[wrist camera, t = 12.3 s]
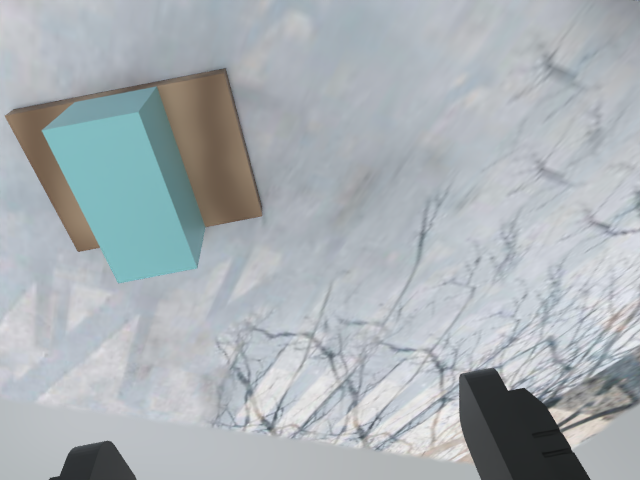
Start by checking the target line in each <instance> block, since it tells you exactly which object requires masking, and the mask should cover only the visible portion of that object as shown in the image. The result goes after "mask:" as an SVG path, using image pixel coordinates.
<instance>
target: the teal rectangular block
mask: <svg viewBox="0 0 640 480" xmlns="http://www.w3.org/2000/svg"><path fill="white" fill-rule="evenodd" d="M42 132H43V134H44V136H45V138H46V140H47V142H48V144H49V146H50V148H51V150H52V152H53V154H54V156H55V158H56V160H57V162H58V164H59V166H60V168H61V170H62V172H63V174H64V176H65V178H66V180H67V182H68V184H69V186H70V188H71V190H72V192H73V194H74V196H75V198H76V200H77V202H78V204H79V206H80V208H81V210H82V212H83V214H84V216H85V218H86V220H87V222H88V224H89V226H90V228H91V230H92V232H93V234H94V236H95V238H96V240H97V242H98V244H99V246H100V248H101V250H102V252H103V254H104V256H105V258H106V260H107V262H108V264H109V266H110V268H111V270H112V272H113V274H114V276H115V278H116V280H117V282H118V283H123V282H128V281H133V280H139V279H144V278H149V277H154V276H160V275H165V274H170V273H175V272H180V271H186V270H191V269H196V268H197V267H198V262H199V257H200V252H201V247H202V242H203V237H204V232H205V225H204V222H203V219H202V216H201V213H200V210H199V207H198V204H197V201H196V199H195V196H194V193H193V190H192V187H191V184H190V181H189V178H188V175H187V172H186V170H185V167H184V164H183V161H182V158H181V155H180V152H179V149H178V146H177V143H176V141H175V138H174V135H173V132H172V129H171V126H170V123H169V120H168V117H167V114H166V111H165V109H164V106H163V103H162V100H161V97H160V94H159V91H158V88H157V86H156V87H151V88H146V89H141V90H135V91H130V92H125V93H120V94H115V95H109V96H104V97H99V98H94V99H88V100H83V101H78V102H74V103H73V104H72V105H71V106H69V107H68V108H67V109H66V110H65V111H64V112H62V113H61V114H60V115H59V116H58V117H57V118H55V119H54V120H53V121H52V122H51V123H50V124H48V125H47V126H46V127H45V128H44V129H43V130H42Z"/></svg>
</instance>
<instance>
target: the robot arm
mask: <svg viewBox="0 0 640 480" xmlns="http://www.w3.org/2000/svg"><path fill="white" fill-rule="evenodd" d="M634 1H640V0H634ZM459 413H460V422H461V427H462V431H463V435H464V438H465V441H466V443H467V446H468V448H469V451H470V453H471V456H472V458H473V461H474V463H475V466H476V468H477V471H478V473H479V475H480V478H481V480H590V478H589V476H588V475H587V473H586V471H585V470H584V468H583V467H582V465H581V463H580V462H579V460H578V459H577V457H576V455H575V453H573V452H572V450H571V447H570V445H569V443H568V442H567V440H566V438H565V437H564V435H563V434H562V433H561V432H560V430H559V427H558V425H557V424H556V422H555V420H554V419H553V417H552V415H551V414H550V412H549V411H548V409H547V407H546V406H545V405H544V404H543V403H542V402H541V401H539V400H538V399H537V398H536V397H535V396H533V395H532V394H531V393H530V392H529V391H527V390H526V389H525V388H521V389H516V390H511V391H508V390H507V388H506V386H505V385H504V383H503V381H502V379H501V377H500V375H499V374H498V372H497V371H496V370H495V369H494V368H489V369H484V370H478V371H473V372H468V373H463V374H460V377H459ZM49 480H136V477H135V475H134V474H133V472H132V471H131V469H130V468H129V466H128V465H127V463H126V462H125V460H124V459H123V457H122V456H121V454H120V453H119V451H118V450H117V448H116V447H115V445H114V444H113V443H112V442H110V441H104V442H99V443H94V444H88V445H83V446H78V447H75V448H73V449H72V450H71V451H70V452H69V454H68V456H67V458H66V461H65V464H64V466H63V469H62V471H61V474H60V476H58V477H53V478H50V479H49Z"/></svg>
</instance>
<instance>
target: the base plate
mask: <svg viewBox="0 0 640 480" xmlns="http://www.w3.org/2000/svg"><path fill="white" fill-rule="evenodd" d="M156 86H157V88H158V91H159V94H160V97H161V100H162V103H163V106H164V109H165V111H166V114H167V117H168V120H169V123H170V126H171V129H172V132H173V135H174V138H175V141H176V143H177V146H178V149H179V152H180V155H181V158H182V161H183V164H184V167H185V170H186V172H187V175H188V178H189V181H190V184H191V187H192V190H193V193H194V196H195V199H196V201H197V204H198V207H199V210H200V213H201V216H202V219H203V222H204V225H205V227H209V226H214V225H219V224H224V223H230V222H235V221H240V220H245V219H250V218H255V217H260V216H262V205H261V201H260V197H259V194H258V190H257V186H256V182H255V179H254V175H253V171H252V167H251V163H250V160H249V156H248V152H247V148H246V144H245V141H244V137H243V133H242V129H241V125H240V122H239V118H238V114H237V110H236V106H235V103H234V99H233V95H232V91H231V87H230V84H229V80H228V76H227V72H226V68H225V69H219V70H214V71H209V72H204V73H199V74H194V75H189V76H184V77H178V78H173V79H168V80H163V81H158V82H153V83H148V84H142V85H137V86H132V87H127V88H122V89H117V90H112V91H106V92H101V93H96V94H91V95H86V96H81V97H76V98H70V99H65V100H60V101H55V102H50V103H45V104H40V105H34V106H29V107H24V108H19V109H14V110H12V111H11V112H10V113H8V114H7V115H5V117H6V119H7V121H8V123H9V125H10V127H11V128H12V130H13V132H14V134H15V136H16V138H17V140H18V141H19V143H20V145H21V147H22V149H23V151H24V153H25V154H26V156H27V158H28V160H29V162H30V164H31V166H32V167H33V169H34V171H35V173H36V175H37V177H38V179H39V180H40V182H41V184H42V186H43V188H44V190H45V192H46V193H47V195H48V197H49V199H50V201H51V203H52V205H53V206H54V208H55V210H56V212H57V214H58V216H59V218H60V219H61V221H62V223H63V225H64V227H65V229H66V230H67V232H68V234H69V236H70V238H71V240H72V242H73V243H74V245H75V247H76V249H77V251H78V252H80V251H85V250H90V249H96V248H100V246H99V244H98V242H97V240H96V238H95V236H94V234H93V232H92V230H91V228H90V226H89V224H88V222H87V220H86V218H85V216H84V214H83V212H82V210H81V208H80V206H79V204H78V202H77V200H76V198H75V196H74V194H73V192H72V190H71V188H70V186H69V184H68V182H67V180H66V178H65V176H64V174H63V172H62V170H61V168H60V166H59V164H58V162H57V160H56V158H55V156H54V154H53V152H52V150H51V148H50V146H49V144H48V142H47V140H46V138H45V136H44V134H43V132H42V130H43V129H44V128H45V127H46V126H47V125H48V124H50V123H51V122H52V121H53V120H54V119H55V118H57V117H58V116H59V115H60V114H61V113H62V112H64V111H65V110H66V109H67V108H68V107H69V106H71V105H72V104H73V103H74V102H78V101H83V100H88V99H94V98H99V97H104V96H109V95H115V94H120V93H125V92H130V91H135V90H141V89H146V88H151V87H156Z"/></svg>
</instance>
